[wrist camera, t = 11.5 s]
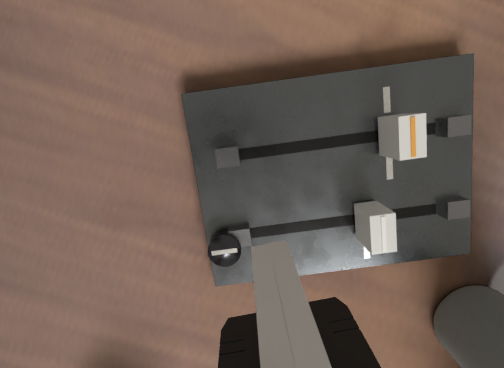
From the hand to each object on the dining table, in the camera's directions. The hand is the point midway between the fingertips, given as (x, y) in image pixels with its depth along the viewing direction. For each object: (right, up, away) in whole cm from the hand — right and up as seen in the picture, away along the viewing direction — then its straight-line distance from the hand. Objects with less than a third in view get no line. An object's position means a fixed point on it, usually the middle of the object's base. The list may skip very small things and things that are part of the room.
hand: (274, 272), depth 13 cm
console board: (+8, +5, +23) cm, 24 cm away
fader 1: (+12, 0, +21) cm, 24 cm away
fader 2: (+14, +9, +19) cm, 25 cm away
